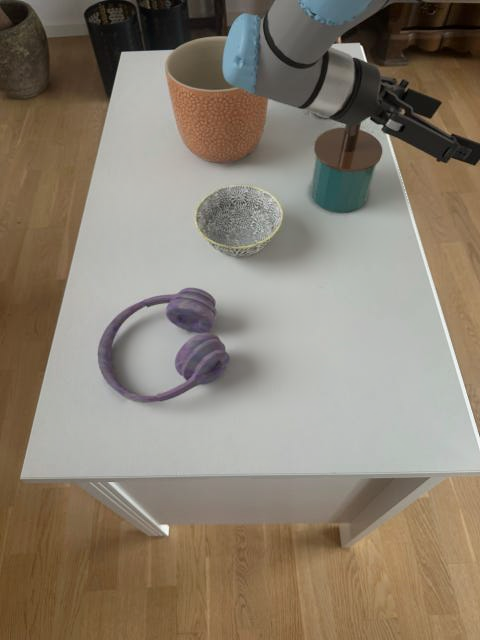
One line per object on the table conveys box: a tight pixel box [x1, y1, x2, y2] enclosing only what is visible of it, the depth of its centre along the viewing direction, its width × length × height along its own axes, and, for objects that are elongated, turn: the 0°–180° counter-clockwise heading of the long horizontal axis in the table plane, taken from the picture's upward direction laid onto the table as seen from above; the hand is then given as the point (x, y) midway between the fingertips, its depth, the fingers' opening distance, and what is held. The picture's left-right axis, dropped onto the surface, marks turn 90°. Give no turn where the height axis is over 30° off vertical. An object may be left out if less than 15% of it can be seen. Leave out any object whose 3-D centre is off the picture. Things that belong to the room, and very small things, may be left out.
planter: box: [164, 35, 269, 164], centre depth 95 cm, size 21×21×19 cm
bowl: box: [194, 184, 284, 257], centre depth 83 cm, size 16×16×8 cm
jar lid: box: [313, 122, 383, 172], centre depth 81 cm, size 13×13×9 cm
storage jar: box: [310, 155, 377, 214], centre depth 89 cm, size 12×12×10 cm
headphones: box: [97, 287, 230, 403], centre depth 70 cm, size 18×8×20 cm
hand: (456, 131), depth 66 cm, fingers open, 13 cm apart
